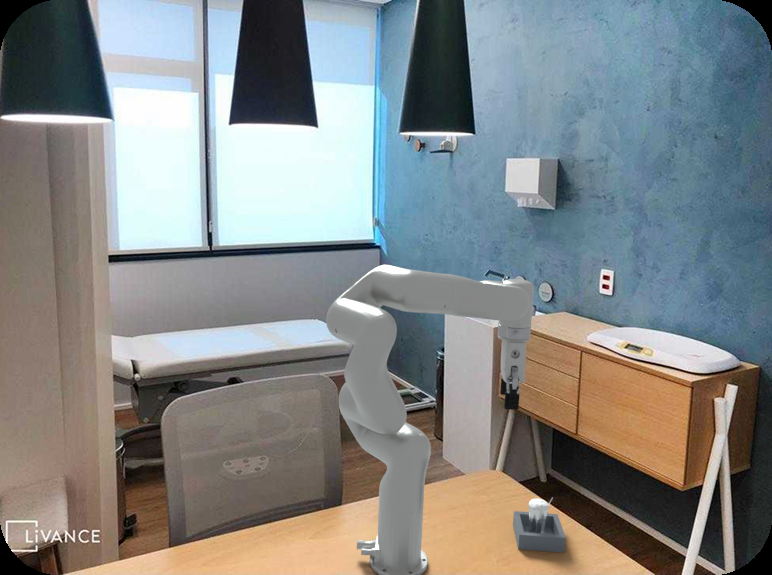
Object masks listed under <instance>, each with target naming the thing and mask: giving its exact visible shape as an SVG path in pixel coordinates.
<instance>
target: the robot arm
mask: <svg viewBox="0 0 772 575" xmlns="http://www.w3.org/2000/svg"><path fill="white" fill-rule="evenodd" d="M534 293H535V287H534V284H533V283H532V282H531V281H529V280H527V279H519V278H510V279H509V278H508V279H505V280H491V279H490V280H489V279H485V280H476V279H472V278H469V277H465V276H463V275H462V276H461V275H458V274H457V275H456V274H451V273H443V272H442V273H441V272H440V273H439V272H434V271H433V272H431V271H424V270H417V269H416V270H415V269H410V268H404V267H400V266H394V265H391V264H382V265H379V266H377V267H375V268H373V269H372V270H370V271H368V272H367V273H366V274H364V275H363V276H361V278H359V279H358V280H357V281H355V283H354V284H353V285H351V286H350V287H349V288H348V289H347V290H345V291H344V292H343V293H342V294H341V295H340V296H338V297H337V298H336V299H335V300H334V301H333V302H332V304H331V305H330V306H329V308H328V311H327V313H326V316H325V324H326V327H327V329H328V331H329V333H330V334H331V335H332V336H333V337H335V338H336V339H337V340H340V341H343V342H346V343H348V344H350V345H352V346H353V348H352V349H351V352H350V355H349V357H348V359H347V361H346V364H345V367H344V372H343V376H344V380H345V382H344V384H343V385H342V386H341V389H340V391H339V393H338V408H339V411H340V414H341V416H342V417H343V419H344V421H345V422H346V425H347V426H348V428H349V430H350V432H351V433H352V435H353V436H354V438H355V440H356V441H357V443H358V444H359V445H360V447H361V449H363V450H364V451H365V452H367V453H368V454H370V455H371V456H373V457H375V458H377V460H379V461H381V462H382V463H384V464H385V466H386V471H385V473H384V475H383V476H382V478H381V479H380V483H379V488H378V489H379V490H378V513H377V514H378V519H377V535H376V539H372V540H365V539H364V540H363V539H357V541H356V550H360V556H369V566H370V567H371V569H372V570H373V571H374V572H375V573H376V574H378V575H422V574H423V573H425V571H426V570H427V568H428V561H429V559H428V555H427V554H426V553H425V551H423V549H422V543H423V542H422V540H423V523H424V522H423V519H424V501H425V498H424V497H425V496H424V495H425V483H426V476H427V470H428V466H429V462H430V458H431V455H432V454H431V453H432V445H431V442H430V439H429V438H428V437H427V435H426V434H425V433H424V431H422V430H420V429H419V428H417V427H416V426H414V425H412V424H410V423H408V422H407V418H408V415H407V413H408V412H407V408H406V404H405V401H404V400H403V397H402V396H401V394H400V392H399V391H398V388H397V387H396V384H395V382H394V380H393V378H392V377H391V375H390V372H389V369H388V365H387V364H388V359H389V356H390V353H391V350H392V348H393V346H394V345H395V342H396V340H397V339H396V338H397V330H398V327H397V323H396V320H395V318H394V317H393V316H392V314H391V313H390V312H388V311H387V310H385V309H383V308H382V307H383V306H385V307H388V308H392V309H394V310H398V311H401V312H407V313H418V314H437V315H448V316H455V317H461V318H462V317H463V318H474V319H475V318H477V319H483V320H491V321H498V325H497V339H499V340H501V350H500V351H501V352H500V373H501V378H500V391H499V392H500V393H499V394H500V395H501V396H504V405H503V408H504V409H505V410H512V411H517V410H519V409H520V408H519V404H520V383H521V384H524V383H525V382H526V366H527V362H526V360H527V342H530V340H531V329H532V321H533V320H532V317H533V307H534Z"/></svg>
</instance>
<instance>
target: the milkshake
mask: <svg viewBox="0 0 772 575" xmlns="http://www.w3.org/2000/svg"><path fill="white" fill-rule="evenodd" d="M553 499H554V497H553V496H552V497H551V499H550V500H549V502H547V501H546V500H544V499H543V498H542V499H541V498H532V499H530V500H529V502H528V512H529V533H541V534H544V528H545V522H546V518H547V513H548V511H549V507H550V504H551V502H552V501H553Z"/></svg>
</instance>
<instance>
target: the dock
mask: <svg viewBox="0 0 772 575" xmlns="http://www.w3.org/2000/svg"><path fill="white" fill-rule="evenodd" d="M512 519H513V520H512V526H513V527H512V528H513V531H514V536H515V540H516V545H517V549H518V550H526V551H537V552H538V551H539V552H552V553H553V552H554V553H563V554H564V553H565V551H566V550H565V549H566V539H567V537H566V534H565V532H564V529H563V526H562V524H561V520H560V518H559V514H557V513H547V518H546V522H545V528H544V534H541V533H529V511H518V510H514V511H513V518H512Z"/></svg>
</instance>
